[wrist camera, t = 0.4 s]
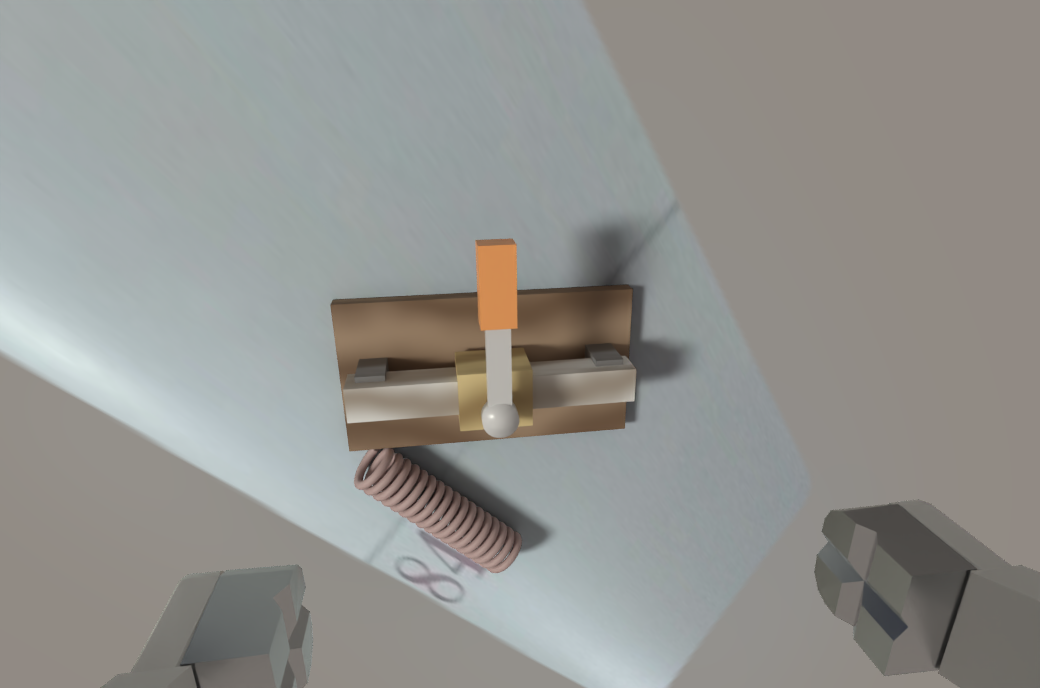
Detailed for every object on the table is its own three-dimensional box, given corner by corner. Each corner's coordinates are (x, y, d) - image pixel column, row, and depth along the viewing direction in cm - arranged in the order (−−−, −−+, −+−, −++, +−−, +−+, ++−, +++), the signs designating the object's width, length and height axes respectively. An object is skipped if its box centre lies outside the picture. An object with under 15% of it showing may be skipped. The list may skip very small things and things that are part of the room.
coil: (529, 552, 59) (381, 454, 53) (498, 586, 60) (348, 493, 53) (519, 525, 64) (381, 432, 57) (490, 557, 64) (350, 468, 58)
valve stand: (332, 299, 52) (314, 337, 43) (627, 284, 55) (664, 317, 46) (351, 442, 57) (338, 502, 48) (620, 421, 60) (652, 472, 51)
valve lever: (473, 240, 42) (476, 246, 40) (513, 238, 43) (517, 244, 41) (481, 428, 48) (483, 441, 46) (516, 425, 48) (520, 438, 46)
